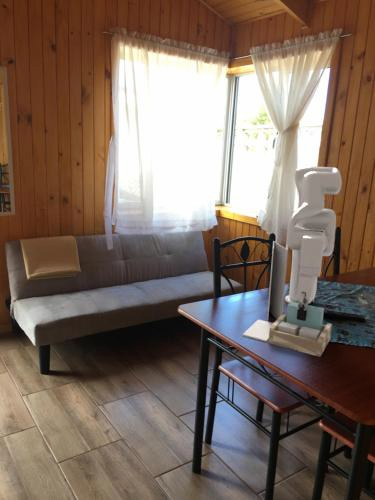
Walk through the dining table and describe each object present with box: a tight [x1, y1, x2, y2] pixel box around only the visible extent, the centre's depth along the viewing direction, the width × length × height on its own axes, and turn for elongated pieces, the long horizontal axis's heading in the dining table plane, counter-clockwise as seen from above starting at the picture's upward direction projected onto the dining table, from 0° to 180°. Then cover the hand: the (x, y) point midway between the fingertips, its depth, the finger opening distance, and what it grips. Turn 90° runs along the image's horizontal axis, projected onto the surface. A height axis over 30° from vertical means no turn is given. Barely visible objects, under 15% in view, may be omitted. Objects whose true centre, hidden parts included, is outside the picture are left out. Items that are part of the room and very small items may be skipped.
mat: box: [242, 319, 274, 343], centre depth 156 cm, size 16×9×1 cm, turn 150°
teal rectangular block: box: [286, 302, 325, 331], centre depth 151 cm, size 4×12×12 cm, turn 60°
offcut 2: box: [299, 326, 320, 340], centre depth 143 cm, size 4×6×6 cm, turn 60°
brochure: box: [266, 240, 289, 322], centre depth 166 cm, size 14×6×30 cm, turn 168°
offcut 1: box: [278, 322, 298, 336], centre depth 147 cm, size 4×6×6 cm, turn 60°
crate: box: [267, 312, 333, 358], centre depth 148 cm, size 16×18×6 cm
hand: (304, 315), depth 150 cm, fingers open, 9 cm apart
